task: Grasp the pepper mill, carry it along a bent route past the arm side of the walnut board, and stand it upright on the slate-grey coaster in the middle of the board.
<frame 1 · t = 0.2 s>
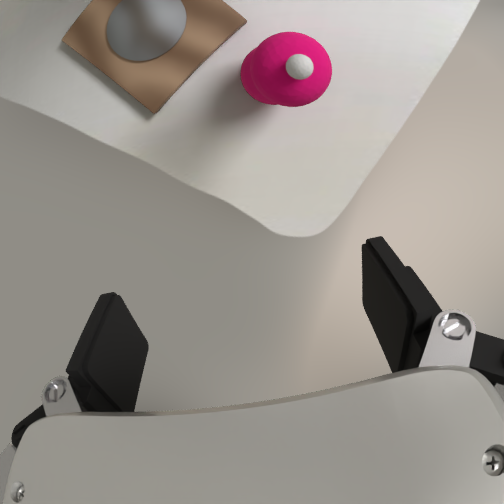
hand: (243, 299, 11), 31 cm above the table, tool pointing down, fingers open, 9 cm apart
walnut board: (148, 25, 29), on the table
pepper mill: (269, 75, 34), on the table
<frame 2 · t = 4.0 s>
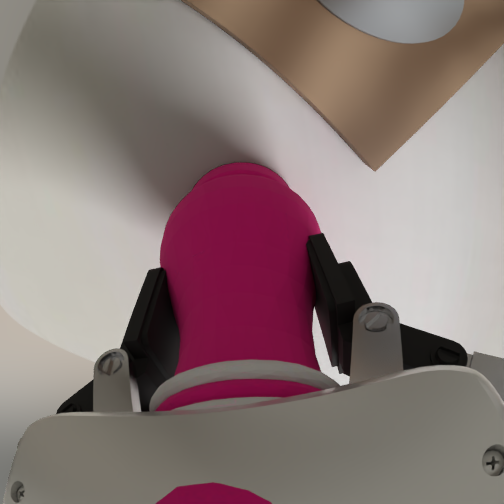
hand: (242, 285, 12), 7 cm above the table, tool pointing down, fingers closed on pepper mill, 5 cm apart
pepper mill: (241, 213, 18), on the table, touching gripper
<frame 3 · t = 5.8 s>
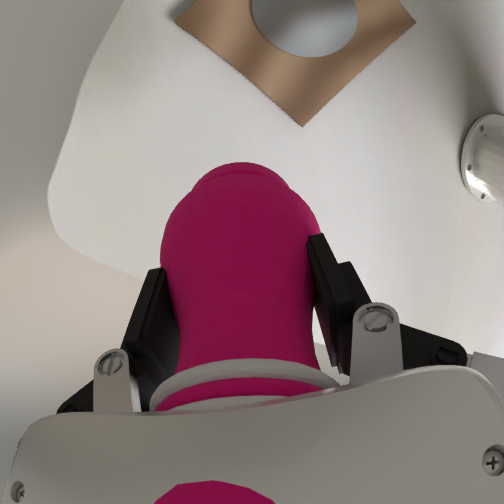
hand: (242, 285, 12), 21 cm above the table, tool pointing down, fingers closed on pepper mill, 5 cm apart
walnut board: (302, 13, 23), on the table
pepper mill: (241, 213, 18), point 15 cm above the table, touching gripper
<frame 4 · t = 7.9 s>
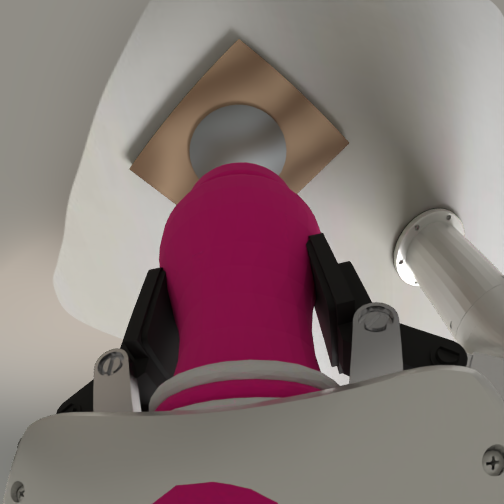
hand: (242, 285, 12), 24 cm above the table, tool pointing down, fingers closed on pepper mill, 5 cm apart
walnut board: (237, 148, 33), on the table
pepper mill: (240, 213, 18), point 17 cm above the table, touching gripper
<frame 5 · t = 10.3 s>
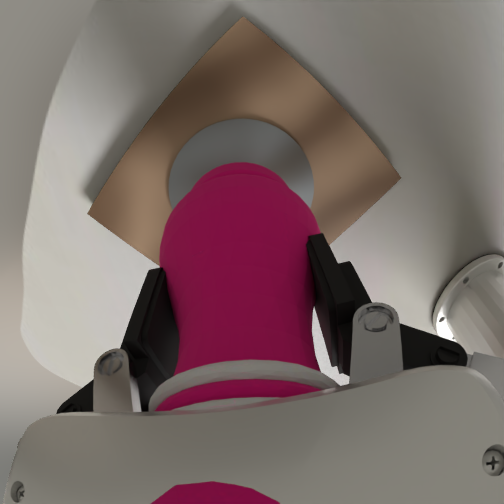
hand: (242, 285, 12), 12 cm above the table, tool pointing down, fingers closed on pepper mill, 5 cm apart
walnut board: (241, 183, 23), on the table
pepper mill: (240, 213, 18), point 6 cm above the table, touching gripper
when the fingers open (9 cm above the table, at t = 12.0 s): pepper mill stays where it is, resting on walnut board.
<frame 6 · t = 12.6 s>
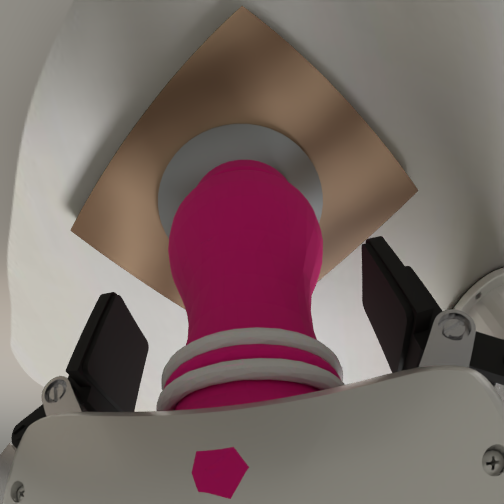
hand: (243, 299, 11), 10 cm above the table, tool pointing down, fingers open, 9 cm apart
walnut board: (240, 196, 20), on the table
pepper mill: (243, 207, 19), point 2 cm above the table, touching walnut board
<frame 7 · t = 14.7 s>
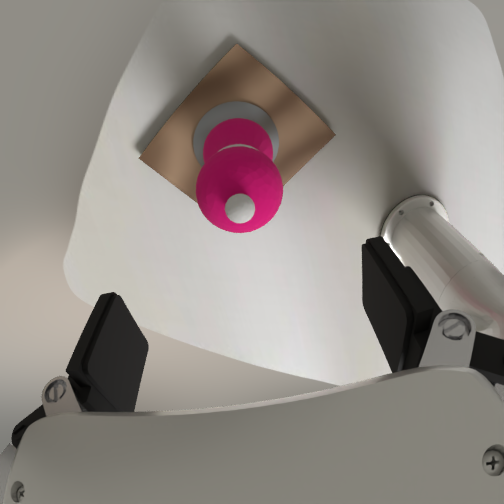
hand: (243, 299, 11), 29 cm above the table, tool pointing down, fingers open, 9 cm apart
walnut board: (236, 140, 36), on the table
pepper mill: (237, 143, 35), point 2 cm above the table, touching walnut board
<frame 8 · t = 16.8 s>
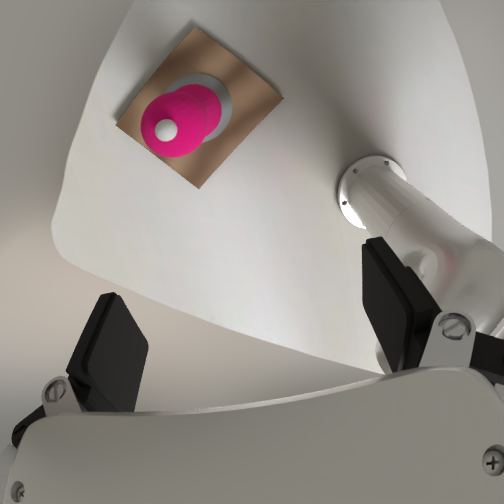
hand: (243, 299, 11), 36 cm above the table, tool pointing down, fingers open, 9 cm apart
walnut board: (197, 107, 40), on the table
pepper mill: (197, 109, 39), point 2 cm above the table, touching walnut board
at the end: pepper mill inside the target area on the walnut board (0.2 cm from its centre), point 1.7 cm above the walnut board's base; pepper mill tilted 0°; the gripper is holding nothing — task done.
